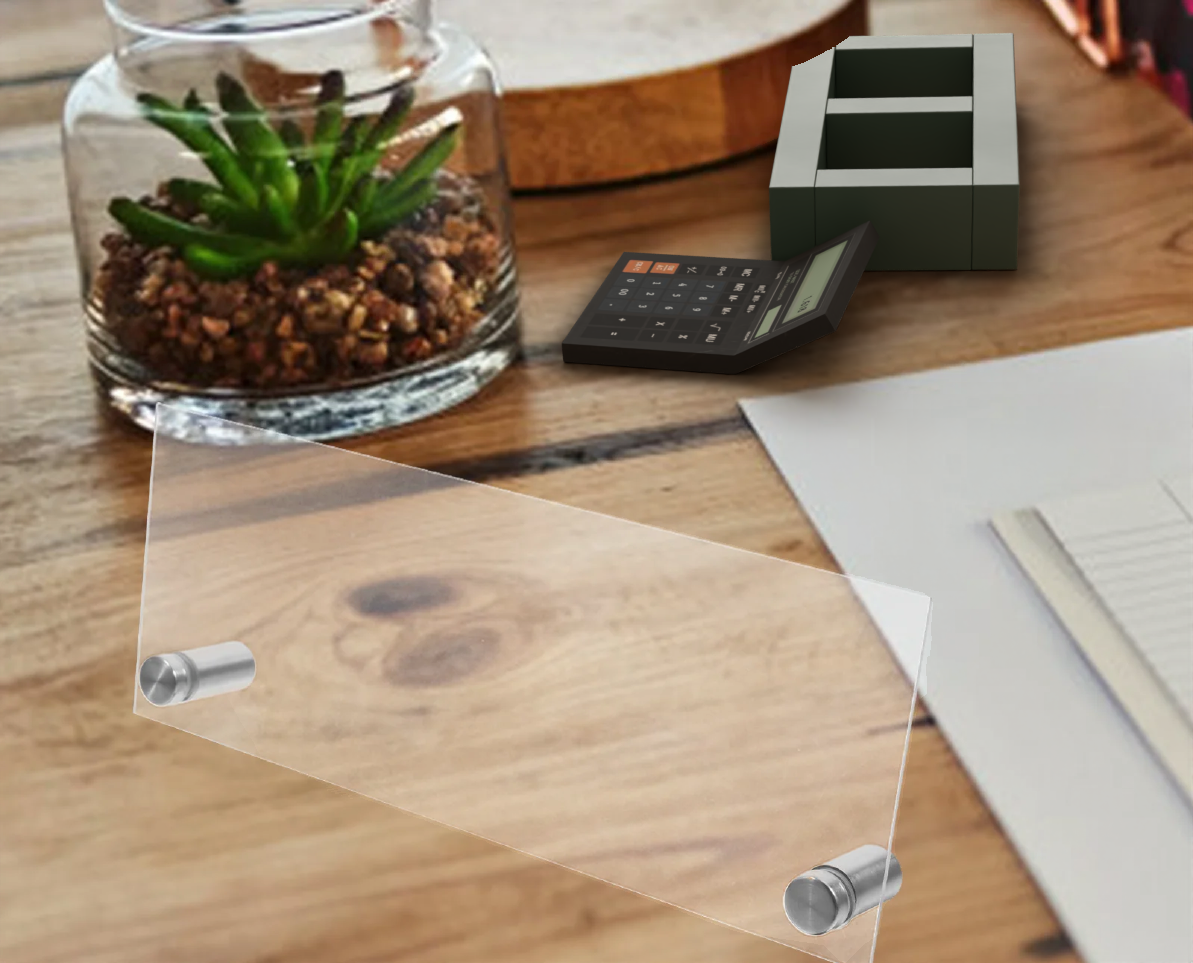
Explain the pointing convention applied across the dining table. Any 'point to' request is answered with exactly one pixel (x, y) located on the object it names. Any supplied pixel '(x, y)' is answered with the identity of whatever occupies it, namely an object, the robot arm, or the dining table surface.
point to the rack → (902, 152)
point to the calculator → (717, 307)
